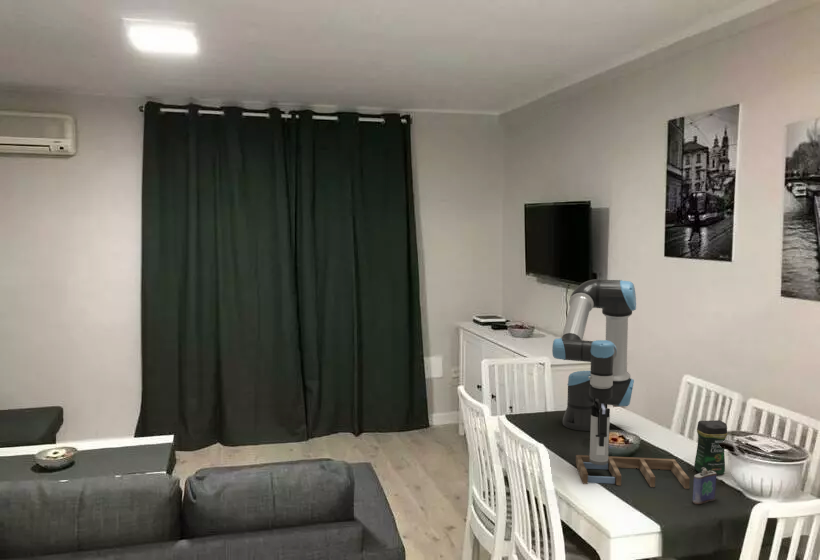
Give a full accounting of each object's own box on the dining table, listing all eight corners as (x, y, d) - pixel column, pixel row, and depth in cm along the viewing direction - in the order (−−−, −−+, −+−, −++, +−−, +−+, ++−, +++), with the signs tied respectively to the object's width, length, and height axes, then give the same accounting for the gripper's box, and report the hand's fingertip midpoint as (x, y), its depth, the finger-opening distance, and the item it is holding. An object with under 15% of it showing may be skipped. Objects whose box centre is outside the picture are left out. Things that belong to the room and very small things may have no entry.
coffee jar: (703, 476, 231) (705, 424, 230) (690, 468, 239) (693, 417, 237) (729, 475, 233) (732, 423, 231) (716, 467, 240) (718, 416, 239)
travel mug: (584, 460, 233) (586, 404, 231) (600, 457, 236) (602, 402, 234) (596, 466, 227) (598, 409, 225) (611, 463, 230) (614, 407, 228)
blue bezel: (581, 467, 239) (581, 461, 239) (607, 468, 238) (607, 463, 238) (587, 482, 226) (587, 476, 226) (614, 483, 225) (615, 478, 225)
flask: (697, 505, 209) (698, 472, 208) (689, 501, 212) (690, 469, 210) (717, 499, 213) (719, 467, 212) (709, 496, 216) (711, 464, 215)
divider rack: (575, 464, 242) (576, 454, 242) (674, 468, 239) (674, 459, 238) (582, 483, 225) (583, 473, 225) (689, 488, 221) (689, 478, 221)
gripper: (585, 378, 239) (583, 441, 241) (594, 392, 220) (592, 460, 222) (607, 379, 238) (604, 442, 240) (617, 393, 219) (615, 461, 221)
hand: (598, 451), depth 231 cm, fingers closed on travel mug, 6 cm apart
